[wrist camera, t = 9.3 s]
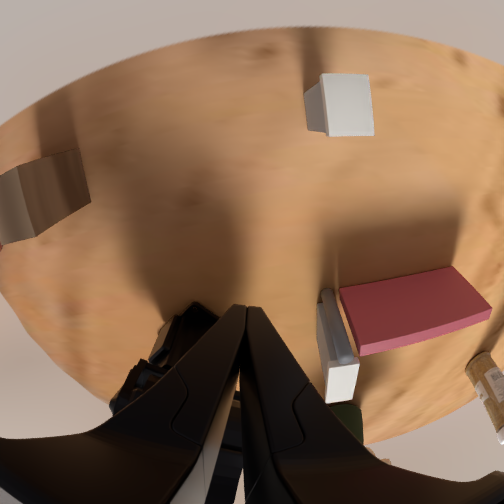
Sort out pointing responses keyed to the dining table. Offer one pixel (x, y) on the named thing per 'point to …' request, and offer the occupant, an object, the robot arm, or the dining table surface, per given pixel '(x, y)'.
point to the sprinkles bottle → (489, 389)
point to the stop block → (41, 195)
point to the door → (411, 309)
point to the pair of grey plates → (328, 315)
